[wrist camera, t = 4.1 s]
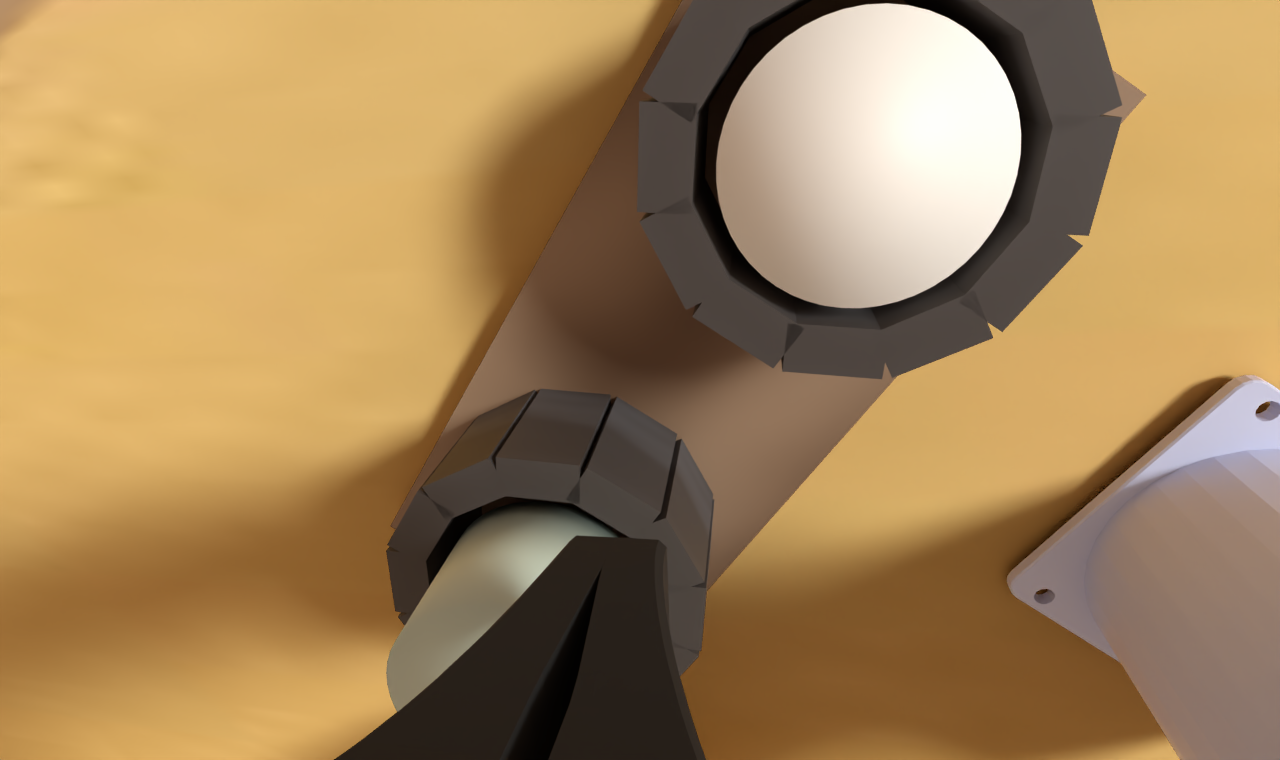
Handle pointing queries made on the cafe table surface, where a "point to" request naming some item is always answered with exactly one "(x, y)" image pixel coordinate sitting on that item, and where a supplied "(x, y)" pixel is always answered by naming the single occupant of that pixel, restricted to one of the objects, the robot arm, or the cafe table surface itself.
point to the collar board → (734, 309)
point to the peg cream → (868, 155)
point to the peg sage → (480, 587)
